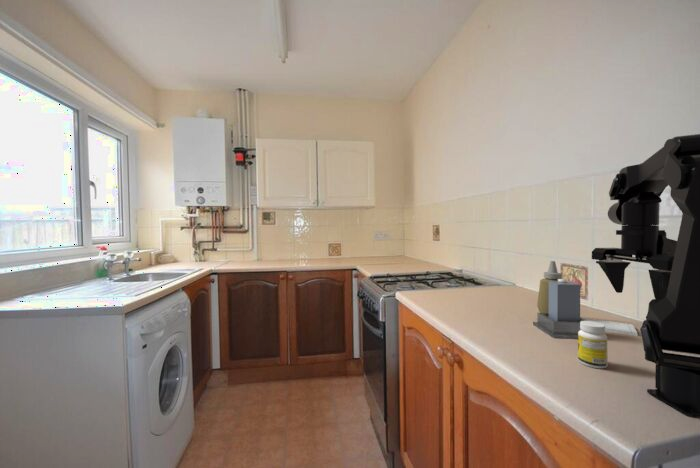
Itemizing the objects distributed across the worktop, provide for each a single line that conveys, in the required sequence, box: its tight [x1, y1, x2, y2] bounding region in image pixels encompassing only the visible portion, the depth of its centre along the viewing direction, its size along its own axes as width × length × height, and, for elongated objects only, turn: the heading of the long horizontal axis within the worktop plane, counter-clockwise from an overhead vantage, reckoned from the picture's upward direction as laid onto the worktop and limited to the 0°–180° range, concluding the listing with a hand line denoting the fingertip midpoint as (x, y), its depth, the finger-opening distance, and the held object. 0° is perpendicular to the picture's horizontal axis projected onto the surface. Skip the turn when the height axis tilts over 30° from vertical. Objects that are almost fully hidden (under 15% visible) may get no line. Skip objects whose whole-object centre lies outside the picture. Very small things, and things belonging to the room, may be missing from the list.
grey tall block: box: [549, 278, 581, 322], centre depth 80 cm, size 4×6×13 cm
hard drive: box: [580, 316, 639, 337], centre depth 83 cm, size 2×8×12 cm
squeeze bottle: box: [536, 260, 563, 313], centre depth 91 cm, size 8×8×18 cm
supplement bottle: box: [577, 321, 609, 369], centre depth 61 cm, size 5×5×8 cm
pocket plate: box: [532, 312, 588, 340], centre depth 80 cm, size 10×11×4 cm
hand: (638, 297), depth 63 cm, fingers open, 9 cm apart
